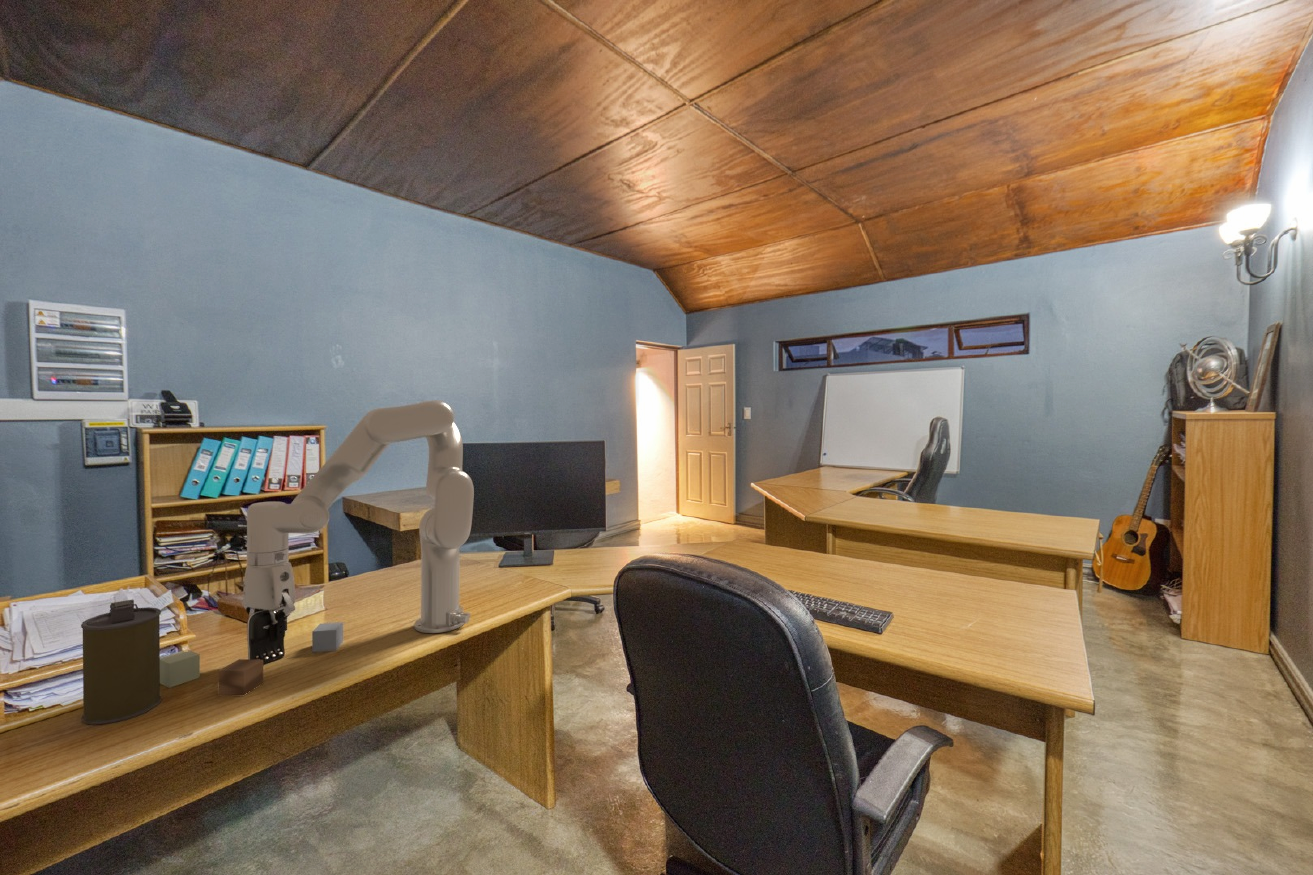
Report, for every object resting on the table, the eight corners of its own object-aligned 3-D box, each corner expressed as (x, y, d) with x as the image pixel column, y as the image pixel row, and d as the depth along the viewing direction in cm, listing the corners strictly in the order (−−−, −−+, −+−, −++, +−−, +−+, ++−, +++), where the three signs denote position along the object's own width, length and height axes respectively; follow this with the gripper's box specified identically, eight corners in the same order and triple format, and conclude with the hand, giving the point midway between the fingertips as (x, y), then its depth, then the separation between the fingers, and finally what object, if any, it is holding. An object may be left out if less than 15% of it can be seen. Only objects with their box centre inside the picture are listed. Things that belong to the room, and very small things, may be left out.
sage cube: (199, 677, 111) (199, 654, 111) (169, 688, 106) (169, 663, 106) (187, 672, 113) (187, 649, 113) (157, 682, 109) (157, 658, 109)
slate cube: (343, 642, 130) (343, 622, 130) (336, 650, 125) (336, 629, 125) (320, 644, 129) (320, 623, 129) (312, 652, 124) (312, 631, 124)
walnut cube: (263, 683, 109) (263, 659, 109) (243, 696, 104) (243, 671, 104) (239, 683, 109) (239, 659, 109) (218, 695, 104) (218, 670, 104)
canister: (164, 709, 99) (164, 602, 98) (82, 732, 91) (81, 617, 90) (157, 689, 106) (157, 589, 105) (80, 709, 98) (80, 602, 98)
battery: (254, 669, 115) (254, 617, 115) (246, 665, 117) (246, 613, 117) (289, 657, 121) (289, 607, 121) (281, 653, 123) (281, 604, 123)
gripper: (312, 556, 120) (312, 636, 120) (256, 550, 124) (256, 627, 125) (281, 564, 112) (281, 649, 113) (222, 558, 117) (222, 639, 117)
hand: (268, 637), depth 119 cm, fingers closed on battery, 4 cm apart
